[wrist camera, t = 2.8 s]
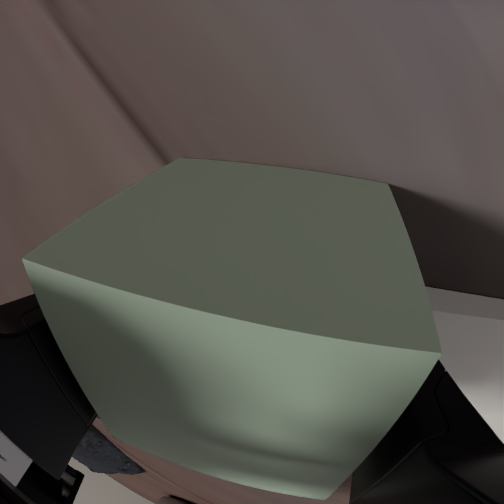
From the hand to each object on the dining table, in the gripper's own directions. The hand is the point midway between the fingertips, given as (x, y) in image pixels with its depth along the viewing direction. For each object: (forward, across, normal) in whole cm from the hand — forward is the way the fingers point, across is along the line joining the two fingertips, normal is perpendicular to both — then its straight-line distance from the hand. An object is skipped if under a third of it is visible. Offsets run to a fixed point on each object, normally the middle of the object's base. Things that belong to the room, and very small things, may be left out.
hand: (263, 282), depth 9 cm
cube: (+1, 0, 0) cm, 1 cm away
